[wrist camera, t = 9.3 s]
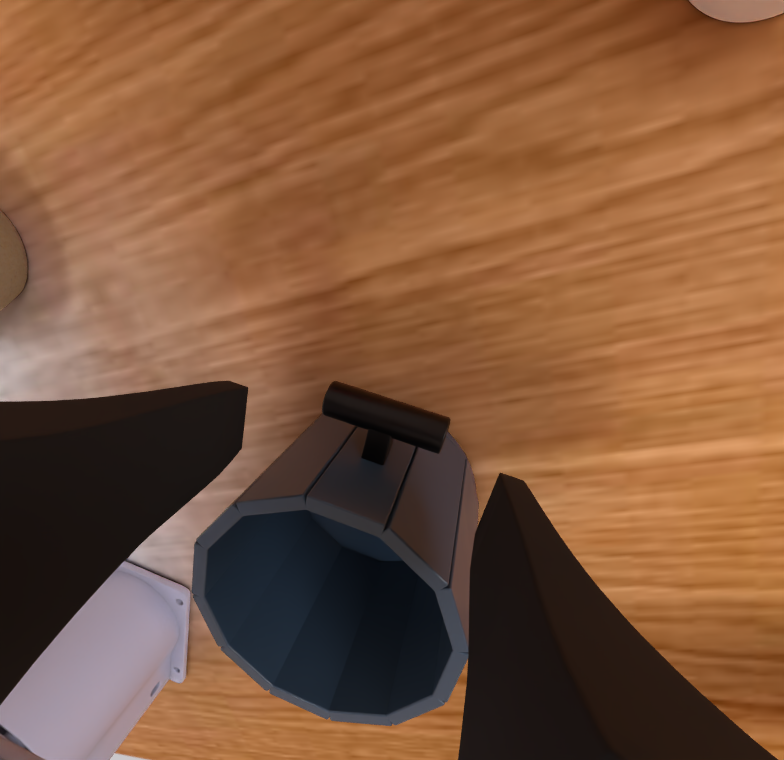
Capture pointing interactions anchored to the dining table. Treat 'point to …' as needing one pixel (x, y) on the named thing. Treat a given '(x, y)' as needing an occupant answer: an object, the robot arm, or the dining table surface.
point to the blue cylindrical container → (349, 564)
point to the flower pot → (11, 262)
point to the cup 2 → (740, 9)
